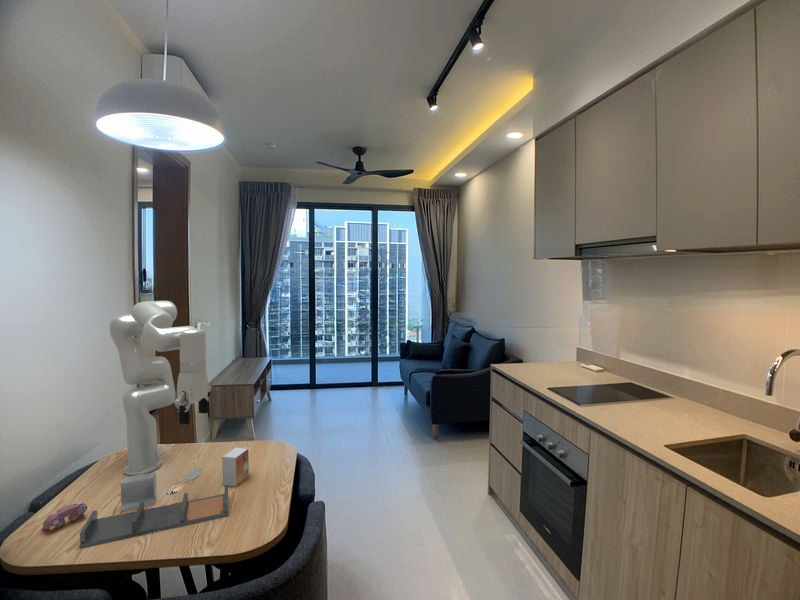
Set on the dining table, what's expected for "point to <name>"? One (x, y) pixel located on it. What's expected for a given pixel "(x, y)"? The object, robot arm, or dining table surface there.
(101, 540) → the slot rack
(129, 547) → the dining table surface
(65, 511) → the video game controller
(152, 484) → the panel
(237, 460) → the small box
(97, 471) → the dining table surface
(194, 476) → the car cutout
